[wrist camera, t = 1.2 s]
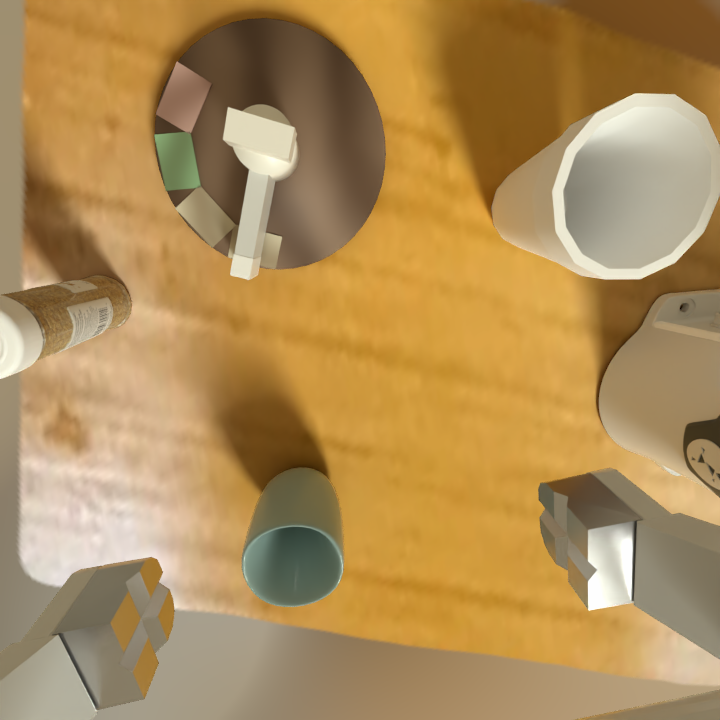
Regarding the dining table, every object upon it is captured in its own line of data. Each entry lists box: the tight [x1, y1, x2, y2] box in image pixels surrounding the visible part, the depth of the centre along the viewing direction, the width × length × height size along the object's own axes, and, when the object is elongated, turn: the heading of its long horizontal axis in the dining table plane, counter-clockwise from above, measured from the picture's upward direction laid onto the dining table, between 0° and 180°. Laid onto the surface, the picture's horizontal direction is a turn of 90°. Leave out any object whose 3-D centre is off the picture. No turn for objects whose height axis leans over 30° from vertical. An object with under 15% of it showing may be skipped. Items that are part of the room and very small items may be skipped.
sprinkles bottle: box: [0, 275, 132, 379], centre depth 28 cm, size 5×5×14 cm
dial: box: [154, 18, 386, 269], centre depth 32 cm, size 17×17×1 cm
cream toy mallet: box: [223, 104, 299, 280], centre depth 29 cm, size 11×4×6 cm, turn 165°
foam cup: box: [491, 93, 720, 279], centre depth 29 cm, size 10×9×13 cm
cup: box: [242, 467, 344, 607], centre depth 36 cm, size 8×8×10 cm
